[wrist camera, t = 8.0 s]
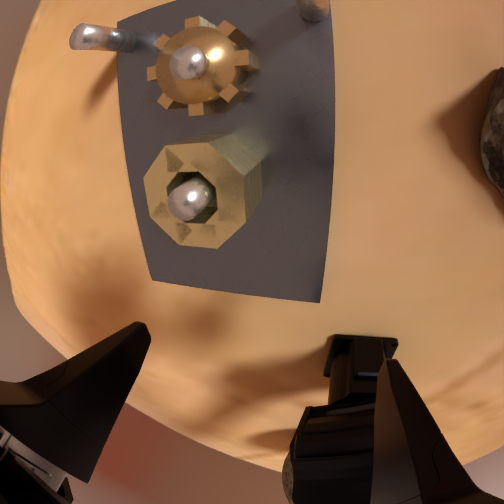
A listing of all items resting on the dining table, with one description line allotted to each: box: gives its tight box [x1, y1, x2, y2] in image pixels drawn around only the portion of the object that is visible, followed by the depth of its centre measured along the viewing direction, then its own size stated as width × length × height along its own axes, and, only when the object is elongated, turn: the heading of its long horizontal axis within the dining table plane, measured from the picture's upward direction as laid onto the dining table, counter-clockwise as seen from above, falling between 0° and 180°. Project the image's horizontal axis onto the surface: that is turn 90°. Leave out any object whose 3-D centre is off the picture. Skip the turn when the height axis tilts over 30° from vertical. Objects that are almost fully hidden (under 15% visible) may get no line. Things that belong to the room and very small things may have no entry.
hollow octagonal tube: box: [143, 134, 262, 249], centre depth 16 cm, size 6×6×4 cm
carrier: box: [69, 0, 335, 303], centre depth 15 cm, size 23×15×6 cm, turn 2°
